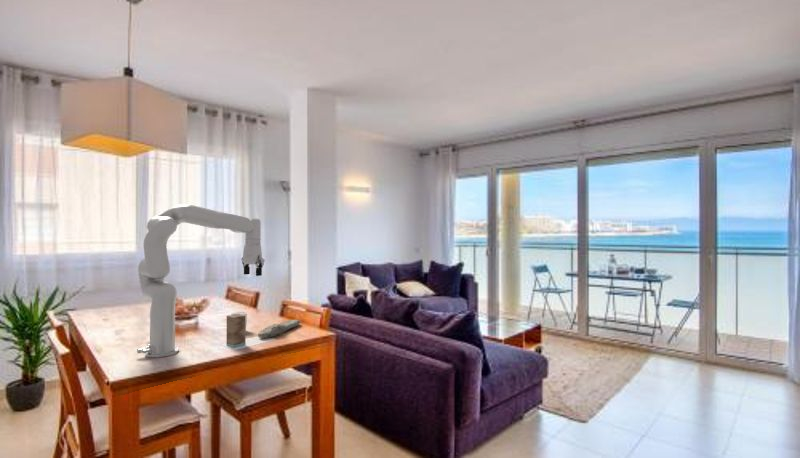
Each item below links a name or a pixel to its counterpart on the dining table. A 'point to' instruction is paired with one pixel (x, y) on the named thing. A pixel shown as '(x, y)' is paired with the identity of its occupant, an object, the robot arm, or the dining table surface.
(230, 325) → the walnut block
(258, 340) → the mat
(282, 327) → the long grey stone
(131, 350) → the dining table surface
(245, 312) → the white cup
